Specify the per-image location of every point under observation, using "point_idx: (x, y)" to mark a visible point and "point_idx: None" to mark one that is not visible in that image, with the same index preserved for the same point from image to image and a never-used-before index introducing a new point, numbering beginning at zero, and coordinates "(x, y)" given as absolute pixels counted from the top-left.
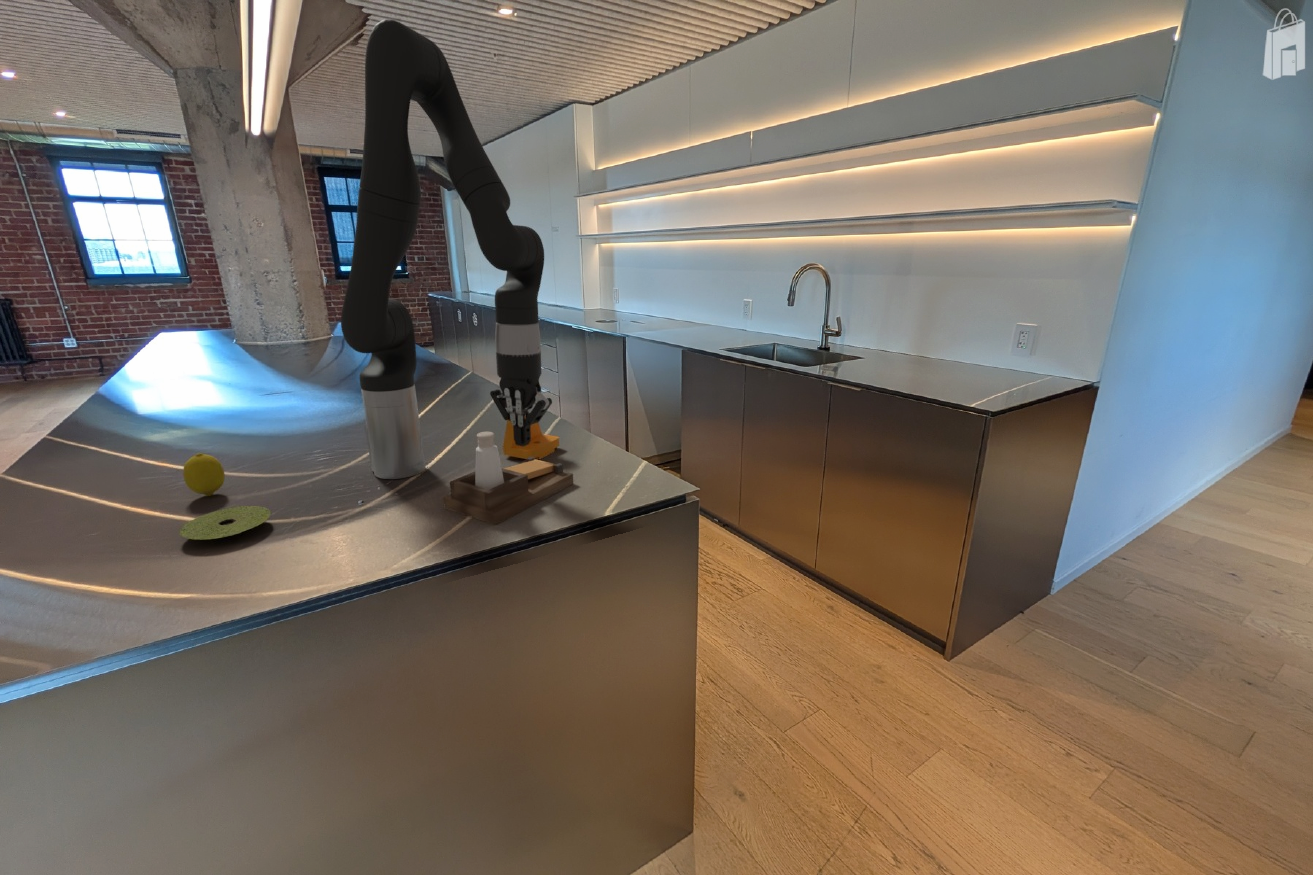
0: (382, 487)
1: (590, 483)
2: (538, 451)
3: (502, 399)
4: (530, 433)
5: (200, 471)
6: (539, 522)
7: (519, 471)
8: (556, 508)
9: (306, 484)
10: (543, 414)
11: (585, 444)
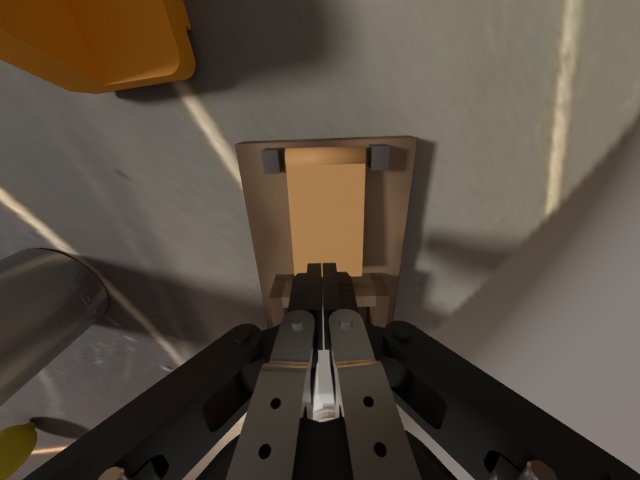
0: (129, 335)
1: (451, 105)
2: (175, 21)
3: (156, 468)
4: (354, 293)
5: (9, 474)
6: (441, 302)
7: (338, 269)
8: (441, 254)
9: (49, 371)
10: (474, 371)
11: None
